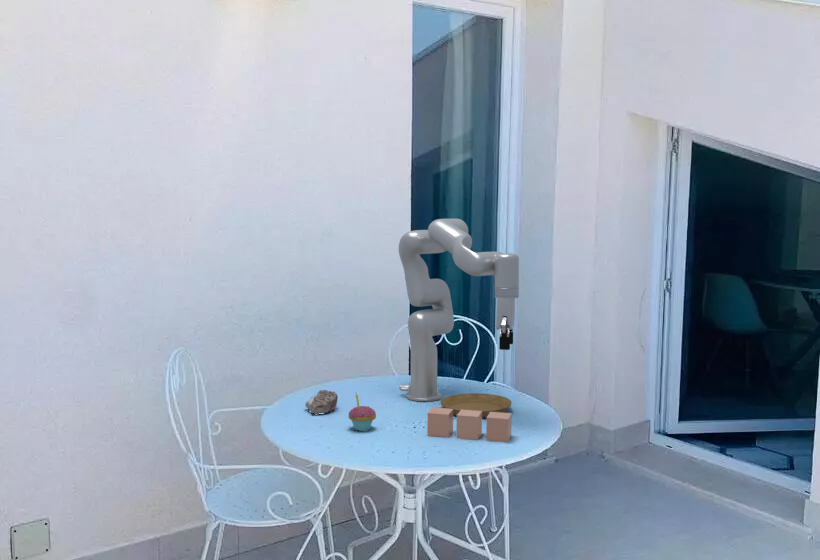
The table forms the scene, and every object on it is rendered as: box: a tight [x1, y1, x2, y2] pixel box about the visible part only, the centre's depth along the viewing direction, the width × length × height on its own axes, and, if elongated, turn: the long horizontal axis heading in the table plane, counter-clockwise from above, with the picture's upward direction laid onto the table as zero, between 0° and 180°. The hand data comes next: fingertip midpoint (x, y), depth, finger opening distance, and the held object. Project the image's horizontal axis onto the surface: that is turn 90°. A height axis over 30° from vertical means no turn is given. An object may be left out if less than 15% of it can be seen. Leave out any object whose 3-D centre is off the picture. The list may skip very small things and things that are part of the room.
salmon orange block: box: [485, 412, 513, 443], centre depth 236 cm, size 6×6×7 cm
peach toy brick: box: [426, 406, 454, 438], centre depth 241 cm, size 6×6×7 cm
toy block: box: [456, 410, 483, 441], centre depth 238 cm, size 6×6×7 cm
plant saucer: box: [439, 392, 513, 419], centre depth 267 cm, size 24×24×3 cm
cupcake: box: [348, 392, 377, 432], centre depth 245 cm, size 9×8×12 cm
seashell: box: [305, 389, 339, 415], centre depth 267 cm, size 14×9×10 cm
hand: (506, 346), depth 249 cm, fingers open, 9 cm apart
